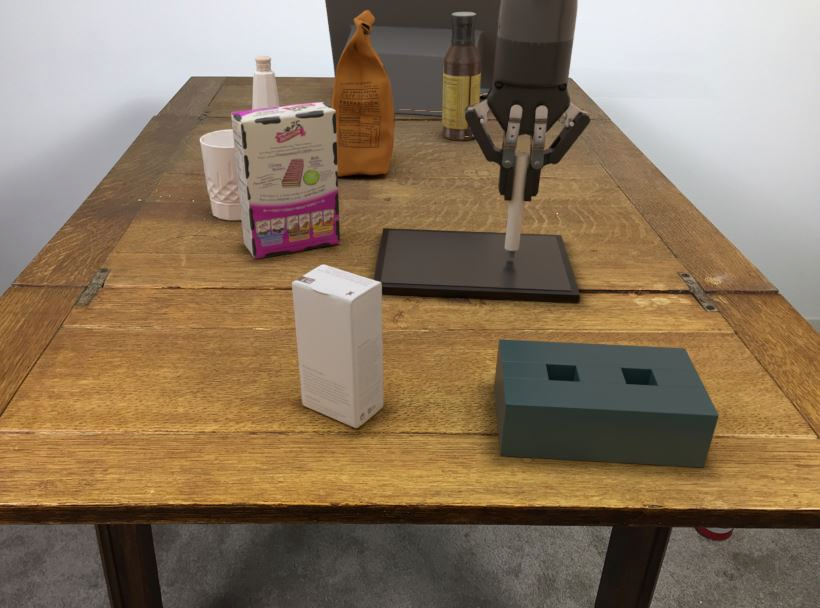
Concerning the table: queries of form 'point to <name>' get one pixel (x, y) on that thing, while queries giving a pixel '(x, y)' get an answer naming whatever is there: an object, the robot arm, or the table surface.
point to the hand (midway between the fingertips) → (517, 198)
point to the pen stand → (601, 403)
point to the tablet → (474, 266)
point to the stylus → (516, 203)
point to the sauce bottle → (460, 77)
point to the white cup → (221, 174)
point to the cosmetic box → (339, 343)
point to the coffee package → (363, 106)
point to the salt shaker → (264, 85)
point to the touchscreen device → (415, 44)
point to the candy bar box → (287, 177)
